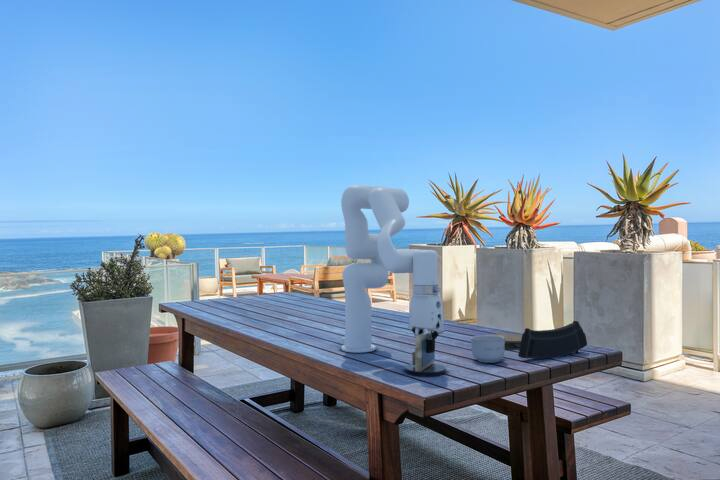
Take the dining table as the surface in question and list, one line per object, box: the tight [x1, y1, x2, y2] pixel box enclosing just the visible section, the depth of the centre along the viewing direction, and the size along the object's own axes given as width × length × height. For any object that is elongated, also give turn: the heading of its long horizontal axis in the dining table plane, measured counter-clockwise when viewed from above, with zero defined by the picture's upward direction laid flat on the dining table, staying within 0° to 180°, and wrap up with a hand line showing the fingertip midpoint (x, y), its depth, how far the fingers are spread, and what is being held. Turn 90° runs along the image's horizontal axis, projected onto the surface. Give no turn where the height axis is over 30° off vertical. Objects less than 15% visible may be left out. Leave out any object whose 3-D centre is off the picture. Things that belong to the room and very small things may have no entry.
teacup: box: [470, 334, 506, 364], centre depth 165 cm, size 14×11×8 cm
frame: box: [411, 330, 436, 372], centre depth 152 cm, size 5×14×10 cm, turn 154°
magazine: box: [517, 320, 588, 360], centre depth 170 cm, size 17×3×30 cm
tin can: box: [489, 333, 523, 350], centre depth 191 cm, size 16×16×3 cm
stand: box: [405, 362, 447, 377], centre depth 151 cm, size 12×12×1 cm
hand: (425, 351), depth 151 cm, fingers closed on frame, 3 cm apart
